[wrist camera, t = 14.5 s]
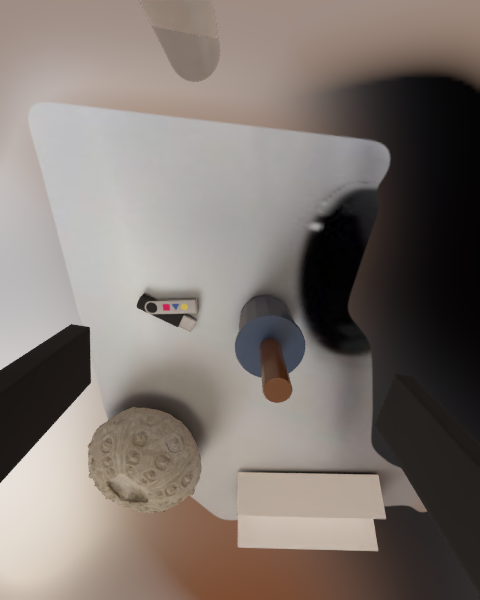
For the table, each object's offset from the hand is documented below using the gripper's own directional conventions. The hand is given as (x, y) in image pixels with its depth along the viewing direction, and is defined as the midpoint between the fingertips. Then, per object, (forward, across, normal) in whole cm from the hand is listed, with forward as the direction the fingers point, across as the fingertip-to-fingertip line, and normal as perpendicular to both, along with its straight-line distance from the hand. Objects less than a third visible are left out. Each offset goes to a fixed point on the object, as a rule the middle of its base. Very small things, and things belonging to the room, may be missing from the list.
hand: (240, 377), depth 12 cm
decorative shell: (+27, -10, -32) cm, 43 cm away
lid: (+19, +4, -8) cm, 21 cm away
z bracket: (+27, +19, -44) cm, 55 cm away
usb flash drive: (+27, -10, -8) cm, 30 cm away
